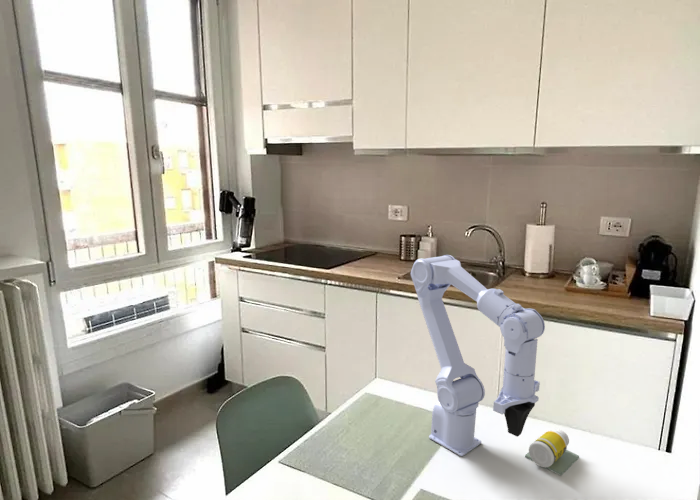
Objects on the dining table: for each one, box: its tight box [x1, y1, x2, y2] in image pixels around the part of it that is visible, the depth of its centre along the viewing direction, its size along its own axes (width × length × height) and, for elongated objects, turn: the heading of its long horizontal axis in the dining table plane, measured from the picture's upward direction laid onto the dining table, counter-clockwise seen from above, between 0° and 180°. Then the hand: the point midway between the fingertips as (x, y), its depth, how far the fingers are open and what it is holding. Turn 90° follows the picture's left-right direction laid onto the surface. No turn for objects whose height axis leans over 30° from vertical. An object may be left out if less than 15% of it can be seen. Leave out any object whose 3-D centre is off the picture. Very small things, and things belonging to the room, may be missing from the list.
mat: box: [524, 449, 580, 476], centre depth 103 cm, size 8×9×1 cm
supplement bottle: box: [528, 428, 570, 468], centre depth 102 cm, size 5×5×10 cm
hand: (514, 433), depth 94 cm, fingers closed
